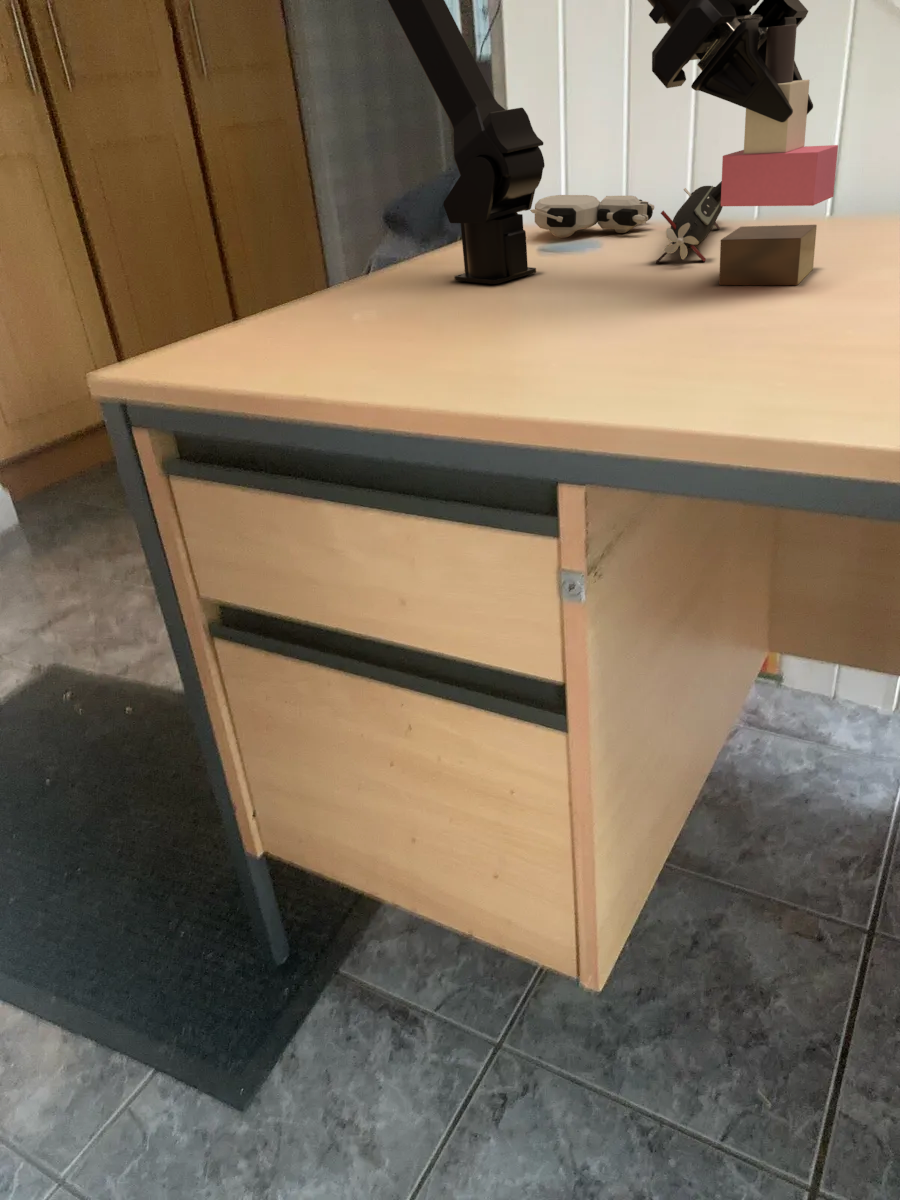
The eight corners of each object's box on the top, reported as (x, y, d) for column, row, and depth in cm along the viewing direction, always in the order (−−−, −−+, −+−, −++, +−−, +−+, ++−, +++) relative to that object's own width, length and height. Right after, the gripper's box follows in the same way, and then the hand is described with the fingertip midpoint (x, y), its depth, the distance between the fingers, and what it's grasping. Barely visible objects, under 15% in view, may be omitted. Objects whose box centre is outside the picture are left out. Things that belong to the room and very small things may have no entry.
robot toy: (654, 228, 125) (543, 226, 128) (657, 191, 122) (544, 191, 126) (646, 244, 115) (525, 242, 118) (649, 204, 112) (526, 203, 116)
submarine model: (673, 292, 97) (753, 219, 91) (629, 243, 96) (707, 167, 90) (703, 240, 122) (766, 181, 117) (668, 201, 121) (731, 139, 116)
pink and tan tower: (720, 206, 81) (727, 31, 75) (743, 198, 84) (751, 29, 78) (813, 205, 77) (829, 19, 70) (833, 196, 80) (850, 18, 74)
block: (718, 285, 87) (720, 239, 85) (738, 269, 92) (740, 226, 90) (797, 285, 84) (801, 238, 82) (813, 269, 89) (816, 224, 87)
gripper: (693, -137, 65) (838, 29, 64) (793, -119, 78) (916, 21, 77) (596, 10, 74) (723, 159, 73) (700, 5, 86) (810, 133, 85)
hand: (798, 115), depth 77 cm, fingers closed on pink and tan tower, 4 cm apart
